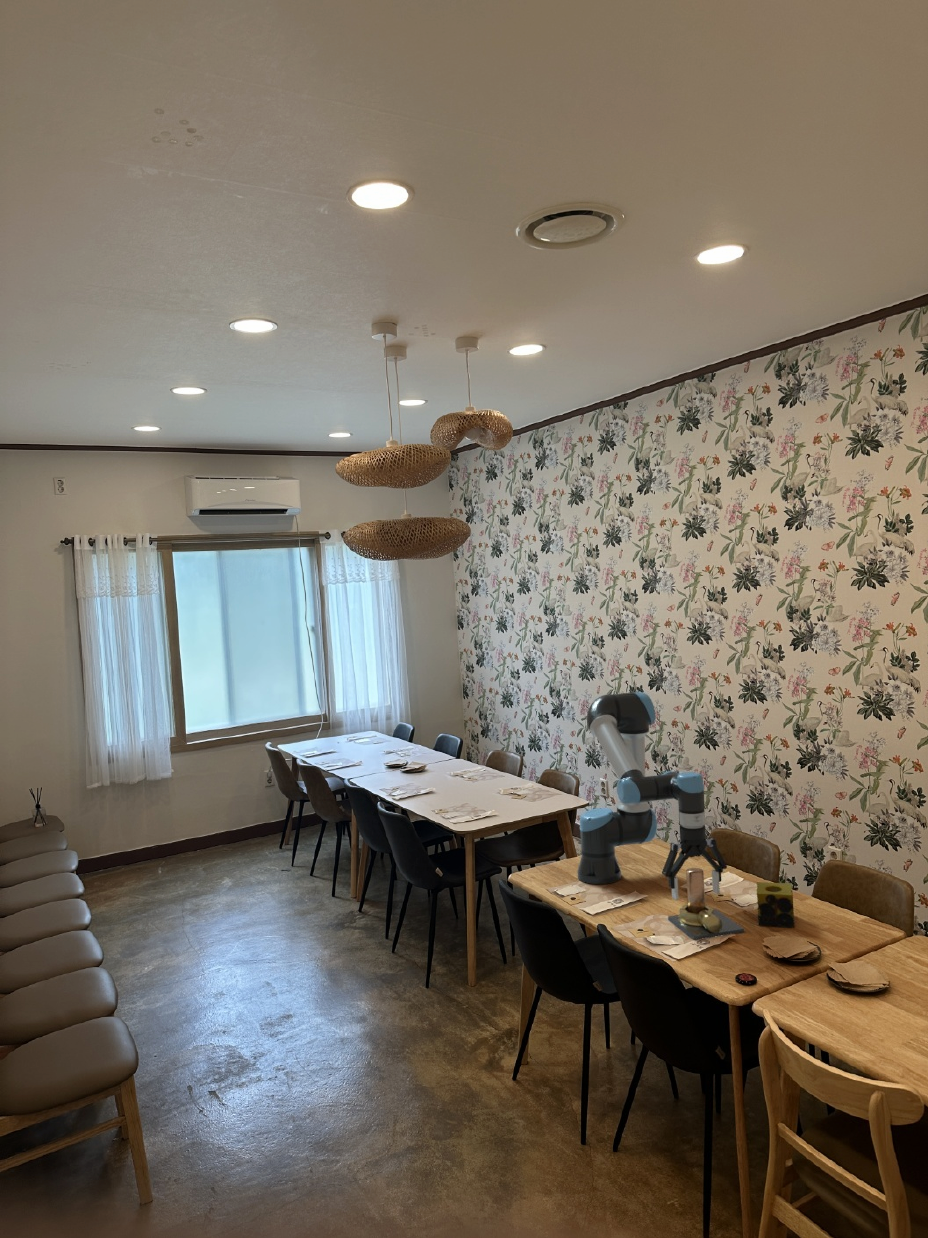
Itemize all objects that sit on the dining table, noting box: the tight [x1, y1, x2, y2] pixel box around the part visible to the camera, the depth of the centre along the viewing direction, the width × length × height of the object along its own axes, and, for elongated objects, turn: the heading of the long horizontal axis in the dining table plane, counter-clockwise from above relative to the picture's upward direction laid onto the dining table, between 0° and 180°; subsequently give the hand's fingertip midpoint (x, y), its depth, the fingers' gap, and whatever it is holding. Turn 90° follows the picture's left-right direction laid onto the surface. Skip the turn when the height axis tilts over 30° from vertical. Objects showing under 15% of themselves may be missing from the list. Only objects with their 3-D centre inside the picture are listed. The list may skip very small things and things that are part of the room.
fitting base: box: [667, 903, 745, 941], centre depth 251 cm, size 16×16×5 cm
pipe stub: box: [685, 867, 706, 914], centre depth 253 cm, size 5×5×14 cm
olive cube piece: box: [756, 881, 795, 929], centre depth 251 cm, size 10×10×10 cm
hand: (695, 895), depth 253 cm, fingers open, 13 cm apart
